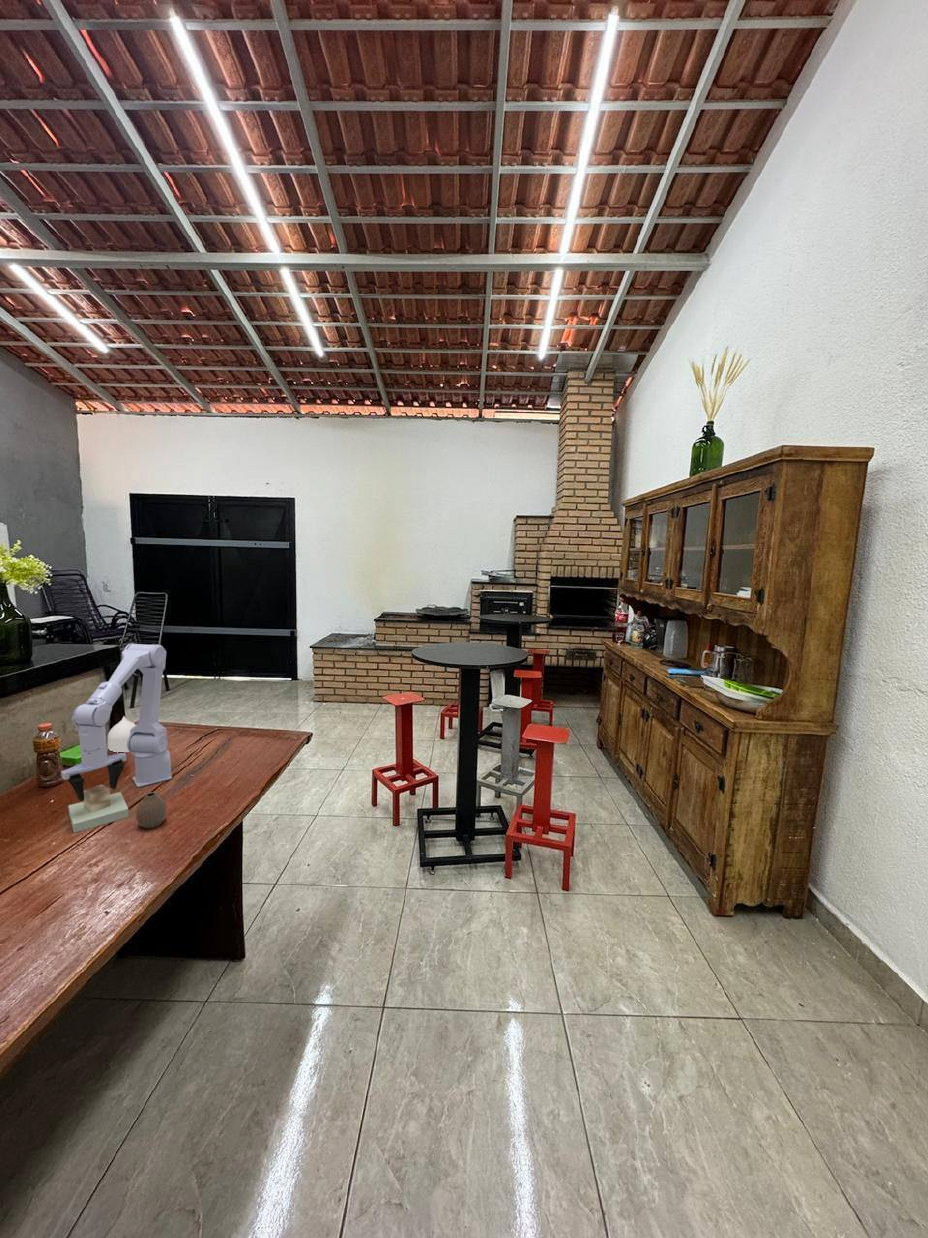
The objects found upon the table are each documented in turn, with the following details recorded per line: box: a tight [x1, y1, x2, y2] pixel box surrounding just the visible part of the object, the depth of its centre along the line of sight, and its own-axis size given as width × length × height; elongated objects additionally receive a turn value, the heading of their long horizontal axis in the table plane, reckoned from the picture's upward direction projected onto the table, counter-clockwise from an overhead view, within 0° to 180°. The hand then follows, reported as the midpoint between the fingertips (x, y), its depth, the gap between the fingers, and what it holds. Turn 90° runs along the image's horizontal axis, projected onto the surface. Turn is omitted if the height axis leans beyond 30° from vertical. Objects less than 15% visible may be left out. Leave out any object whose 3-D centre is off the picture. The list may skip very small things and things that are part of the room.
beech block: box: [83, 784, 111, 813], centre depth 135 cm, size 4×4×5 cm
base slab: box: [67, 791, 130, 834], centre depth 135 cm, size 12×12×2 cm
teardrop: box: [107, 716, 137, 754], centre depth 179 cm, size 11×11×12 cm
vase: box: [135, 791, 168, 829], centre depth 132 cm, size 7×7×9 cm
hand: (97, 793), depth 135 cm, fingers open, 7 cm apart
